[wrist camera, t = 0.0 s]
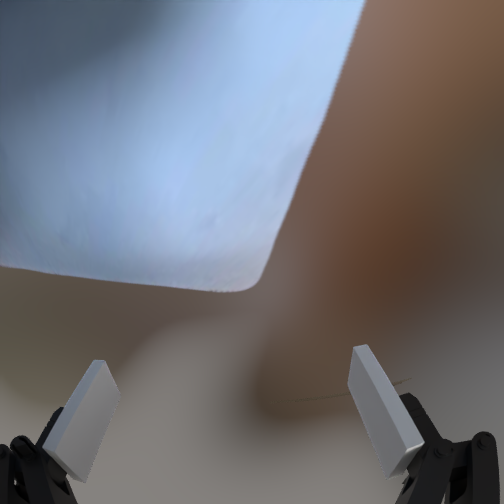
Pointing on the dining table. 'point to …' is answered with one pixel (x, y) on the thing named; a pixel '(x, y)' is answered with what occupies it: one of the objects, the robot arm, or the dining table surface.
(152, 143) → the dining table surface
